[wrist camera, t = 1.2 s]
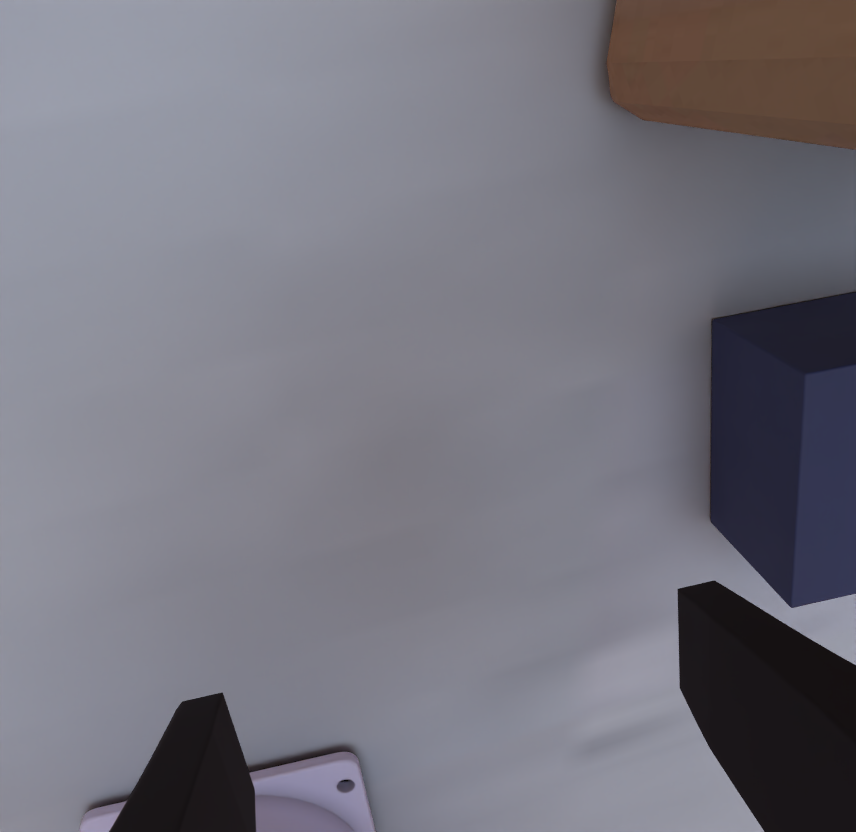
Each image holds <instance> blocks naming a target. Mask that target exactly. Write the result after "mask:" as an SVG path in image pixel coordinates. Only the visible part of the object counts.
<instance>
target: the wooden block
mask: <svg viewBox="0 0 856 832" xmlns="http://www.w3.org/2000/svg"><path fill="white" fill-rule="evenodd" d="M607 69H608V75H609V85H610V95H611V97H612V99H613V101H614V102H615V103H616V104H618V105H620V106H621V107H623V108H624V109H626V110H628V111H629V112H631V113H632V114H634V115H636V116H637V117H639V118H640V119H642V120H647V121H654V122H661V123H668V124H675V125H683V126H690V127H697V128H704V129H711V130H718V131H726V132H733V133H740V134H747V135H754V136H761V137H769V138H776V139H783V140H790V141H797V142H804V143H812V144H819V145H826V146H833V147H840V148H847V149H855V150H856V0H617V2H616V8H615V14H614V20H613V26H612V32H611V38H610V44H609V51H608V57H607Z"/></svg>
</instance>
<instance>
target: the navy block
mask: <svg viewBox="0 0 856 832" xmlns="http://www.w3.org/2000/svg"><path fill="white" fill-rule="evenodd" d="M711 523H712V524H713V525H714V526H715V527H716V528H717V529H718V530H719V531H720V532H721V533H722V534H723V535H724V537H725V538H726V539H727V540H728V541H729V542H730V543H731V544H732V545H733V546H734V547H735V548H736V549H737V550H738V552H739V553H740V554H741V555H742V556H743V557H744V558H745V559H746V560H747V561H748V562H749V563H750V564H751V565H752V567H753V568H754V569H755V570H756V571H757V572H758V573H759V574H760V575H761V576H762V577H763V578H764V579H765V580H766V582H767V583H768V584H769V585H770V586H771V587H772V588H773V589H774V590H775V591H776V592H777V593H778V594H779V595H780V596H781V598H782V599H783V600H784V601H785V602H786V603H787V604H788V605H789V606H790V607H791V608H794V607H798V606H803V605H807V604H812V603H816V602H820V601H825V600H829V599H834V598H838V597H842V596H847V595H851V594H856V292H854V293H849V294H844V295H839V296H833V297H828V298H823V299H818V300H812V301H807V302H802V303H797V304H791V305H786V306H781V307H776V308H771V309H765V310H760V311H755V312H750V313H744V314H739V315H734V316H729V317H723V318H718V319H714V320H713V321H712V423H711Z"/></svg>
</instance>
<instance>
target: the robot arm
mask: <svg viewBox="0 0 856 832" xmlns="http://www.w3.org/2000/svg"><path fill="white" fill-rule="evenodd" d="M678 623H679V669H680V689H681V691H682V693H683V695H684V697H685V699H686V702H687V704H688V706H689V708H690V710H691V712H692V714H693V716H694V718H695V720H696V722H697V724H698V726H699V728H700V730H701V732H702V734H703V736H704V738H705V740H706V742H707V744H708V746H709V747H710V749H711V750H712V752H713V754H714V755H715V757H716V758H717V760H718V761H719V763H720V765H721V766H722V768H723V769H724V771H725V772H726V774H727V775H728V777H729V778H730V780H731V781H732V783H733V785H734V786H735V788H736V789H737V791H738V792H739V794H740V795H741V797H742V798H743V800H744V801H745V803H746V804H747V806H748V807H749V809H750V810H751V812H752V813H753V815H754V816H755V818H756V819H757V821H758V822H759V824H760V825H761V827H762V828H763V830H764V831H765V832H856V665H854V664H852V663H851V662H849V661H847V660H845V659H843V658H842V657H840V656H838V655H836V654H835V653H833V652H831V651H829V650H828V649H826V648H824V647H823V646H821V645H819V644H817V643H816V642H814V641H812V640H811V639H809V638H807V637H806V636H804V635H802V634H801V633H799V632H797V631H796V630H794V629H792V628H791V627H789V626H787V625H786V624H784V623H783V622H781V621H779V620H778V619H776V618H774V617H773V616H771V615H770V614H768V613H766V612H765V611H763V610H761V609H760V608H758V607H757V606H755V605H753V604H752V603H750V602H749V601H747V600H745V599H744V598H742V597H741V596H739V595H737V594H736V593H734V592H733V591H731V590H729V589H728V588H726V587H724V586H723V585H721V584H719V583H718V582H716V581H710V582H706V583H702V584H697V585H693V586H688V587H684V588H680V589H678ZM347 779H349V781H347V782H341V781H342V780H347ZM79 831H80V832H376V830H375V826H374V822H373V817H372V813H371V809H370V805H369V801H368V797H367V793H366V789H365V785H364V780H363V776H362V772H361V768H360V764H359V760H358V758H357V757H356V756H355V755H354V754H352V753H350V752H337V753H332V754H328V755H324V756H319V757H315V758H311V759H306V760H302V761H298V762H293V763H289V764H285V765H280V766H276V767H272V768H268V769H263V770H259V771H255V772H250V773H249V770H248V767H247V764H246V761H245V758H244V755H243V752H242V749H241V746H240V743H239V740H238V737H237V734H236V731H235V728H234V725H233V722H232V719H231V716H230V713H229V710H228V707H227V704H226V701H225V698H224V695H223V693H218V694H214V695H209V696H205V697H201V698H196V699H192V700H187V701H183V702H182V703H181V704H180V705H179V707H178V708H177V709H176V711H175V713H174V715H173V717H172V719H171V721H170V723H169V725H168V727H167V729H166V731H165V732H164V734H163V736H162V738H161V740H160V742H159V744H158V746H157V748H156V750H155V751H154V753H153V755H152V757H151V759H150V761H149V763H148V764H147V766H146V768H145V770H144V772H143V774H142V775H141V777H140V779H139V781H138V783H137V784H136V786H135V788H134V790H133V791H132V793H131V795H130V796H129V798H128V800H127V801H125V802H120V803H116V804H112V805H107V806H103V807H99V808H95V809H92V810H90V811H88V812H87V813H85V814H84V816H83V818H82V821H81V824H80V828H79Z"/></svg>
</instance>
